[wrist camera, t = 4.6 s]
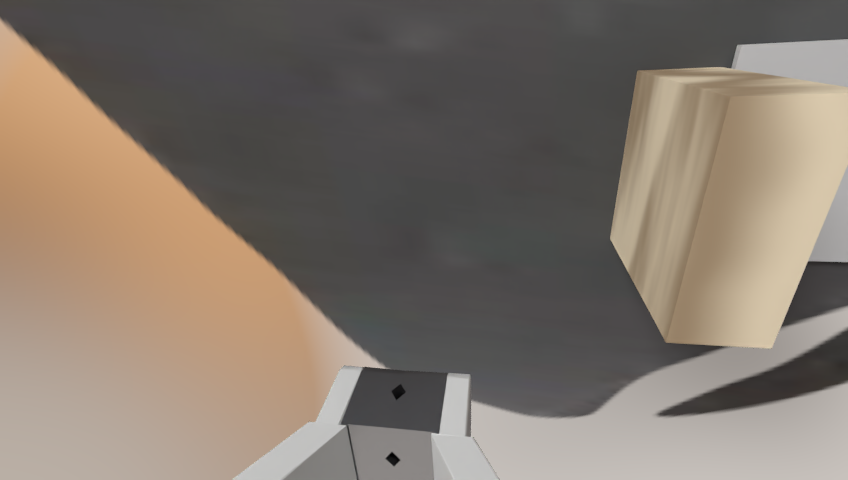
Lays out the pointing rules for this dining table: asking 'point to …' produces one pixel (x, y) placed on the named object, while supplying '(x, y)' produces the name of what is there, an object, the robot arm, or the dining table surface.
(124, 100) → the dining table surface
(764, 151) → the birch slab
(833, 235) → the mat
